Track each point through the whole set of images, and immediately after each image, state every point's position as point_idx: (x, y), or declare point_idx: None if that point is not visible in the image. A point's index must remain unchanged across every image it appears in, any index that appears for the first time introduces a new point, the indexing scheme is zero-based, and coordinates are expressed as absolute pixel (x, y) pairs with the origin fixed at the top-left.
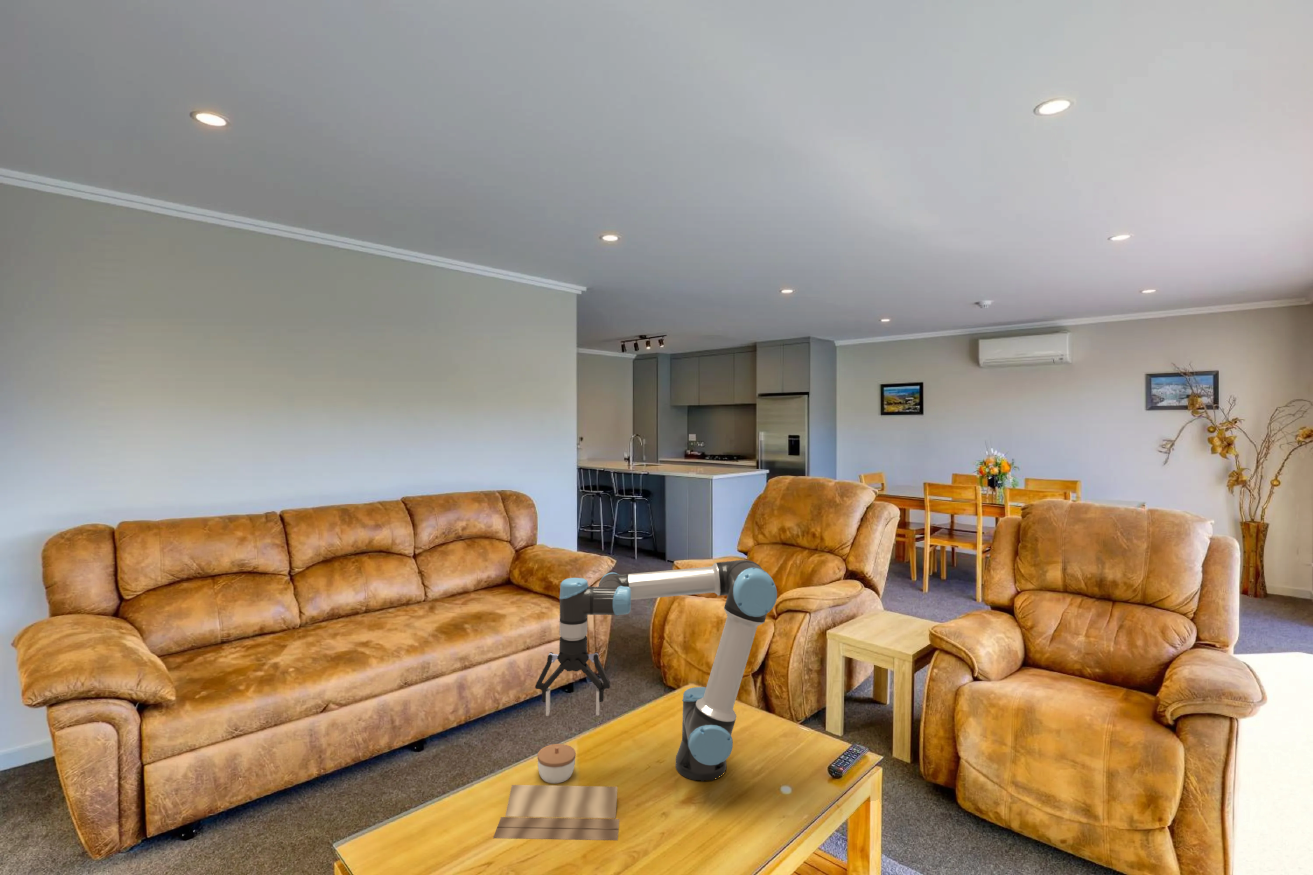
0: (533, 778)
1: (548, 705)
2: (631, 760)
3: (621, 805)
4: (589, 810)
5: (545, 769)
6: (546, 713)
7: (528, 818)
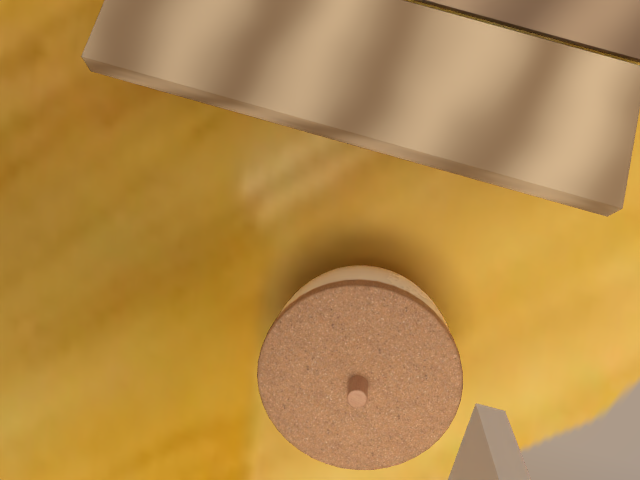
0: None
1: (498, 474)
2: (27, 378)
3: None
4: None
5: (426, 299)
6: (502, 421)
7: (539, 22)
